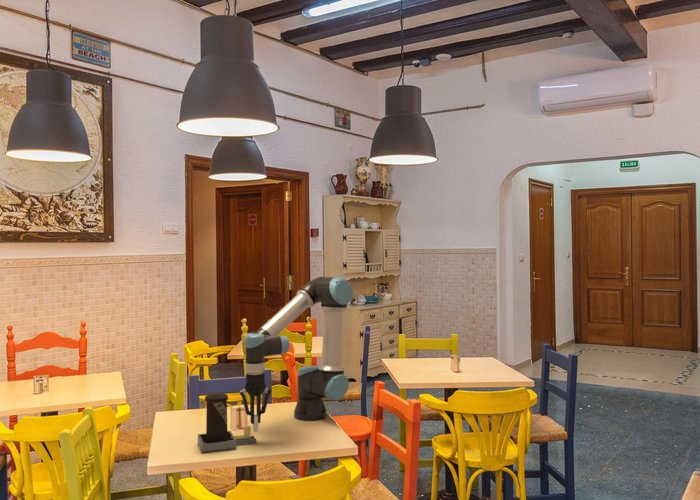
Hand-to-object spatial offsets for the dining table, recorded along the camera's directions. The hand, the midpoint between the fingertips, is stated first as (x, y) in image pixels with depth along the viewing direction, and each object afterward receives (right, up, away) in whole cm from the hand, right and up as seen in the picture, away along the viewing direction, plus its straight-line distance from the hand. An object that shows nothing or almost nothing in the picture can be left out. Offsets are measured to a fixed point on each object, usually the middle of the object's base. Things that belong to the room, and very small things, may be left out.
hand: (255, 431), depth 247 cm
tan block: (-6, -3, -2) cm, 7 cm away
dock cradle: (-14, -4, -6) cm, 16 cm away
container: (-14, -4, -6) cm, 16 cm away
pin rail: (-4, -4, -2) cm, 6 cm away
